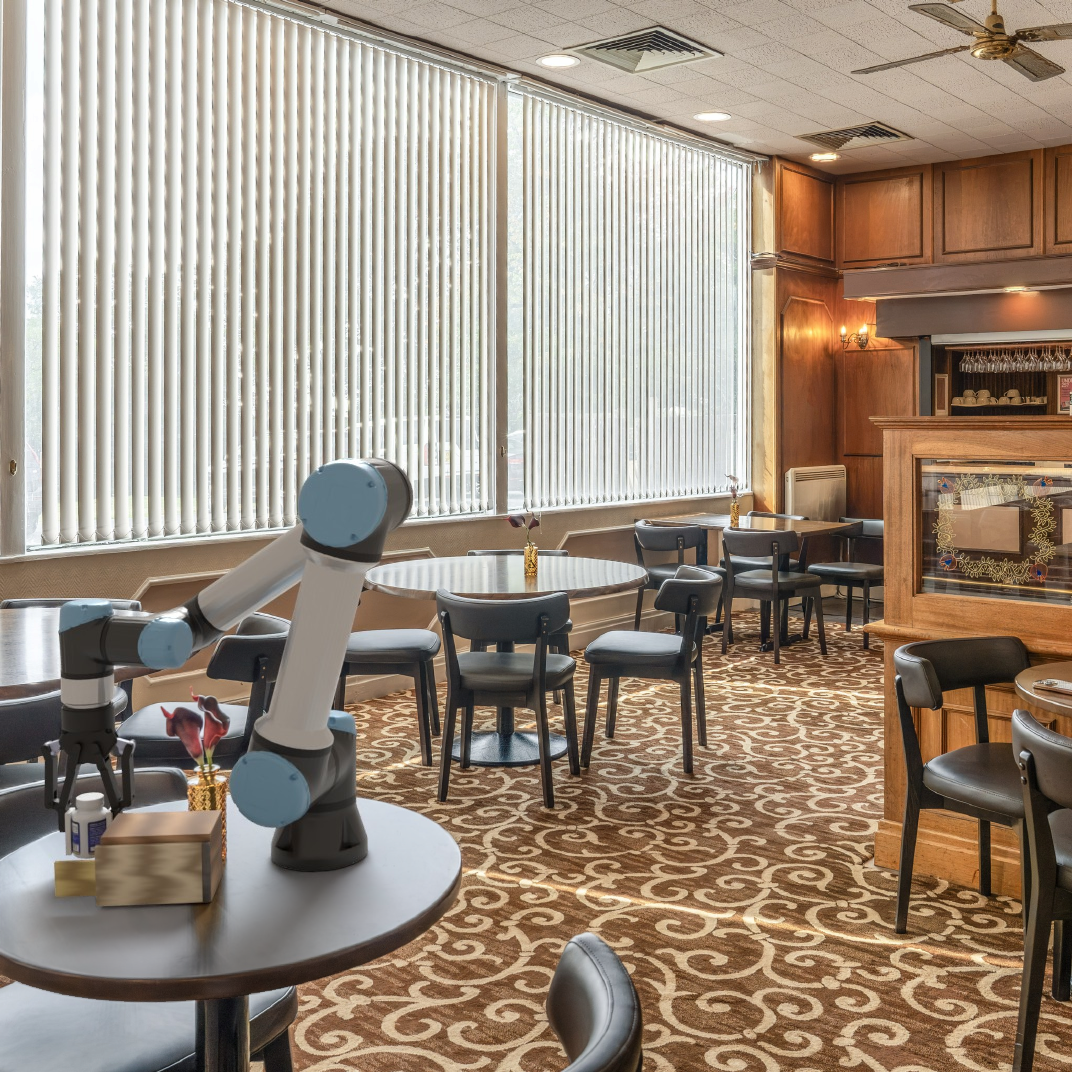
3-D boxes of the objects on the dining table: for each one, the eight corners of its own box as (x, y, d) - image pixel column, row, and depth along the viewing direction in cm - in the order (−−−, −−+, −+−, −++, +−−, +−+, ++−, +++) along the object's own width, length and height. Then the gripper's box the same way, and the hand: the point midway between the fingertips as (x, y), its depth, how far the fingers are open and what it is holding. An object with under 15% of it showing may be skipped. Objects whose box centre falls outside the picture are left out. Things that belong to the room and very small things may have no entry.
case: (222, 874, 170) (221, 810, 169) (211, 901, 160) (209, 833, 159) (120, 878, 168) (118, 813, 167) (102, 906, 158) (100, 837, 157)
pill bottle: (114, 846, 174) (113, 791, 173) (103, 859, 169) (101, 802, 168) (80, 846, 174) (78, 790, 173) (67, 859, 169) (65, 802, 168)
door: (211, 898, 160) (210, 841, 159) (210, 902, 159) (209, 844, 158) (57, 904, 157) (55, 846, 157) (54, 908, 156) (52, 849, 155)
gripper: (156, 695, 174) (158, 840, 176) (32, 697, 172) (36, 844, 174) (145, 707, 167) (147, 858, 169) (15, 709, 164) (20, 862, 167)
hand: (91, 851), depth 171 cm, fingers closed on pill bottle, 5 cm apart
